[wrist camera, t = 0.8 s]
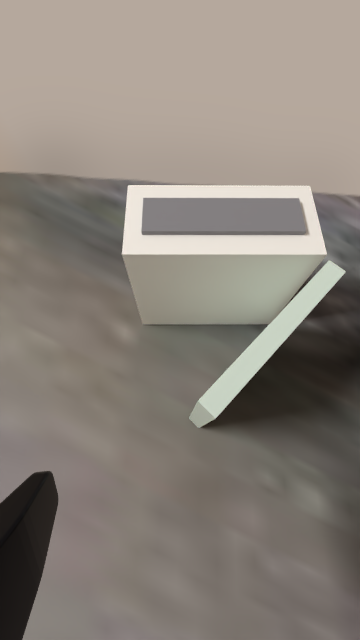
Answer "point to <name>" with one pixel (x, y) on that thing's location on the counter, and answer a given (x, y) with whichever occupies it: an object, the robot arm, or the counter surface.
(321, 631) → the counter surface
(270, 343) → the door
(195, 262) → the box
